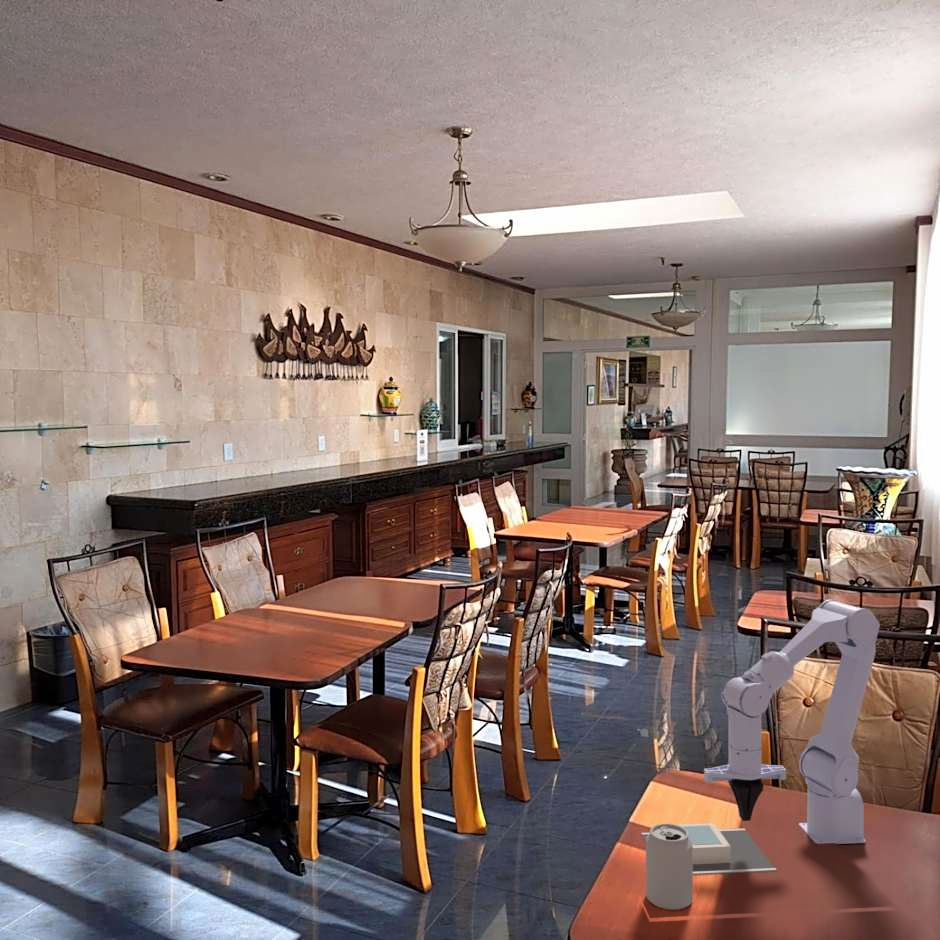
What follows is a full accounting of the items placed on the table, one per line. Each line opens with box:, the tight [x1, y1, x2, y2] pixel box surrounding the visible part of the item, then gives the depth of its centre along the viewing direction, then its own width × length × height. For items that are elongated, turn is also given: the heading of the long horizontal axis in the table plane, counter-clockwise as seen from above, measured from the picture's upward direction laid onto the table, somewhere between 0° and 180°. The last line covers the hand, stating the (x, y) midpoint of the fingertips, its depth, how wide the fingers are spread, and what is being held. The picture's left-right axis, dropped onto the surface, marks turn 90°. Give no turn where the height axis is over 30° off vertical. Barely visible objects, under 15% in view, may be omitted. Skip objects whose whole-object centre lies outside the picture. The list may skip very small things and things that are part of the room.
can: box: [645, 823, 694, 911], centre depth 146 cm, size 8×8×12 cm
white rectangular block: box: [677, 822, 731, 864], centre depth 162 cm, size 3×9×8 cm
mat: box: [640, 827, 778, 876], centre depth 162 cm, size 20×16×1 cm
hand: (745, 818), depth 162 cm, fingers closed
